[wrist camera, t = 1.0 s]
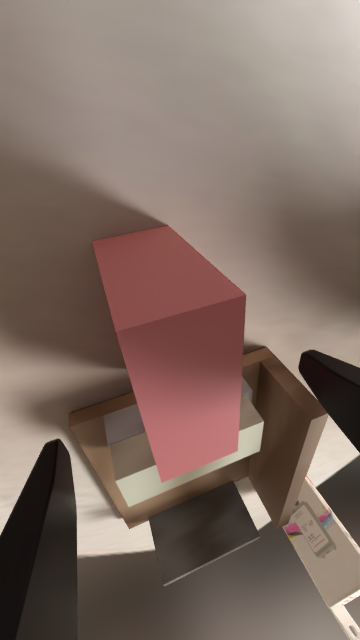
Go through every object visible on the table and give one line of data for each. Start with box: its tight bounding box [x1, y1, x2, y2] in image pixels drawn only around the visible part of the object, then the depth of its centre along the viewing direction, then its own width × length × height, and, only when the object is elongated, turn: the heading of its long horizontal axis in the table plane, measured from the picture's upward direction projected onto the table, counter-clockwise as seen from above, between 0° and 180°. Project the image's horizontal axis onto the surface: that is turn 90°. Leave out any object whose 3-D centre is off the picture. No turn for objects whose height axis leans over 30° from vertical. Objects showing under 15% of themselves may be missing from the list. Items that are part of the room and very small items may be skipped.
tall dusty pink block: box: [92, 225, 246, 483], centre depth 12 cm, size 4×8×7 cm, turn 6°
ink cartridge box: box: [283, 476, 360, 640], centre depth 28 cm, size 9×5×15 cm, turn 32°
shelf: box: [69, 347, 329, 586], centre depth 21 cm, size 14×17×6 cm
